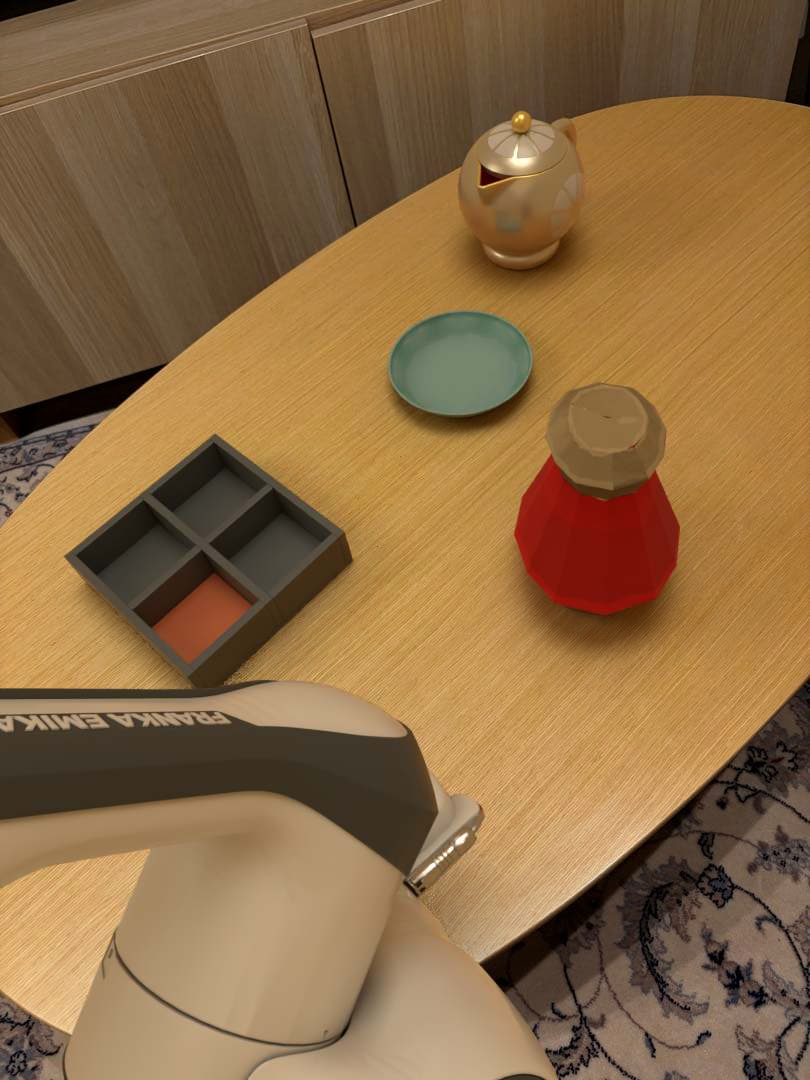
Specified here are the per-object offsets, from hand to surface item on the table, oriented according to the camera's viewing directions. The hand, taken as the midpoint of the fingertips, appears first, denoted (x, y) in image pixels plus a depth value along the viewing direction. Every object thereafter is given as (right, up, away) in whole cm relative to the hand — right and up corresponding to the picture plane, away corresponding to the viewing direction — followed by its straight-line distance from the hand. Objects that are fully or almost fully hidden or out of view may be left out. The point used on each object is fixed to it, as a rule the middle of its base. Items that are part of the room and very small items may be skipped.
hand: (280, 853), depth 57 cm
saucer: (+14, +37, +34) cm, 52 cm away
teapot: (+23, +55, +44) cm, 74 cm away
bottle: (+25, +18, +20) cm, 36 cm away
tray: (-9, +18, +24) cm, 31 cm away
